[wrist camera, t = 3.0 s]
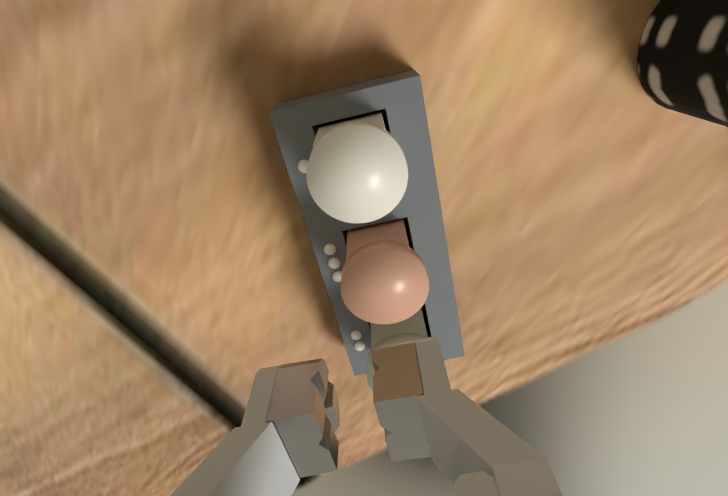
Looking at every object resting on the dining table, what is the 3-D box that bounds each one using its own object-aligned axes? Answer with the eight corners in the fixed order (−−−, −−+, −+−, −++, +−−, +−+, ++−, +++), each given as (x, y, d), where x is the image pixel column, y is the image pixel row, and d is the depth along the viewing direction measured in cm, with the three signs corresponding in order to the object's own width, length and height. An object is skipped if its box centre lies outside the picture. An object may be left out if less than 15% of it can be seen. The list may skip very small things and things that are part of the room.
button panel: (456, 331, 36) (464, 357, 34) (355, 350, 37) (354, 377, 34) (413, 69, 27) (420, 75, 24) (277, 103, 27) (267, 113, 25)
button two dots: (438, 347, 34) (450, 395, 30) (373, 359, 34) (376, 408, 30) (428, 294, 31) (439, 338, 27) (358, 307, 32) (359, 353, 28)
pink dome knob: (424, 273, 31) (435, 315, 26) (353, 287, 31) (352, 331, 27) (411, 207, 28) (421, 241, 24) (334, 223, 29) (330, 260, 24)
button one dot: (406, 181, 27) (416, 212, 23) (327, 198, 28) (322, 232, 24) (390, 97, 25) (397, 114, 21) (304, 118, 25) (293, 139, 21)
